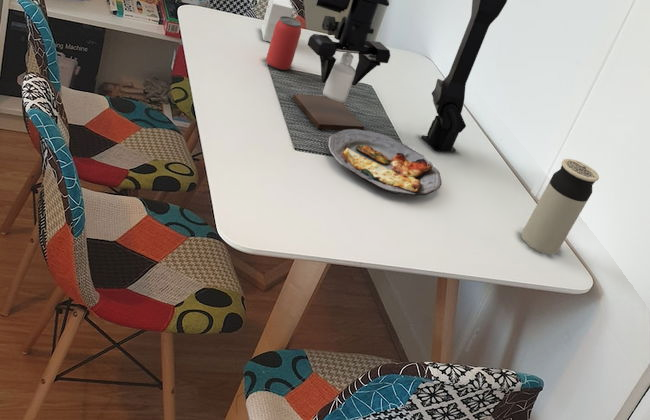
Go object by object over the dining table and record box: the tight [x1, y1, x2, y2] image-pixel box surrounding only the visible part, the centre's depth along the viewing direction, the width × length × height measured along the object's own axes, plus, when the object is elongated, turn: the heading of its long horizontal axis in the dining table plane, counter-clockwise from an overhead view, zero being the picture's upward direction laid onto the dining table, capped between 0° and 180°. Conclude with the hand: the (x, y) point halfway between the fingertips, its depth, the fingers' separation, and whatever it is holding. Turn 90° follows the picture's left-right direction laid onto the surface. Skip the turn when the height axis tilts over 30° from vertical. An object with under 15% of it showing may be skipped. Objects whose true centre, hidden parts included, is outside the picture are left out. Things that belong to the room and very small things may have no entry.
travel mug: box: [520, 158, 600, 255], centre depth 145 cm, size 8×8×18 cm
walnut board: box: [292, 93, 365, 131], centre depth 171 cm, size 14×12×1 cm
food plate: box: [327, 129, 443, 197], centre depth 155 cm, size 25×23×4 cm
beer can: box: [265, 16, 302, 71], centre depth 184 cm, size 7×7×12 cm
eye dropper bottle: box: [322, 52, 356, 103], centre depth 166 cm, size 4×6×12 cm
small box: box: [260, 0, 294, 43], centre depth 200 cm, size 8×6×10 cm
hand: (338, 83), depth 167 cm, fingers closed on eye dropper bottle, 8 cm apart
